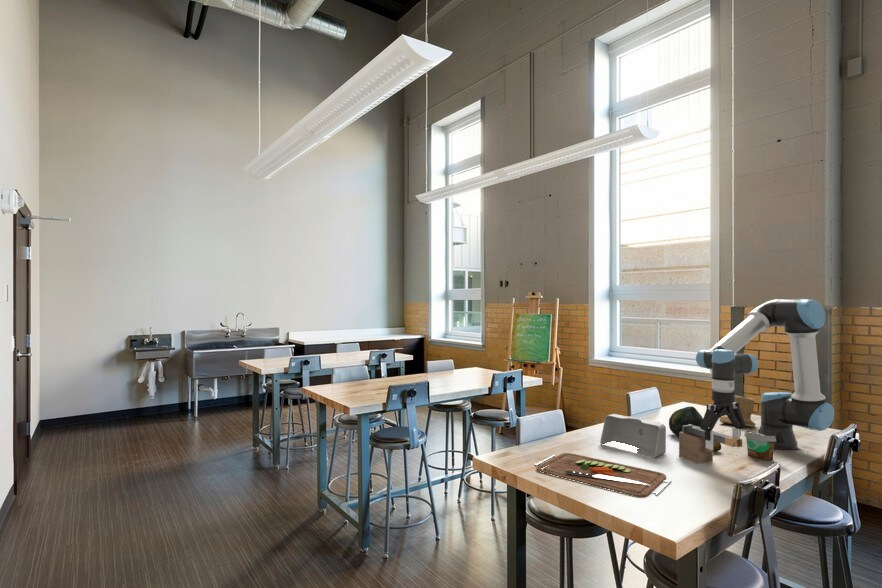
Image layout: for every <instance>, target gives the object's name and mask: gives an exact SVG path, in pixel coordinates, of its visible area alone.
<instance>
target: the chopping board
mask: <svg viewBox="0 0 882 588" xmlns="http://www.w3.org/2000/svg"><path fill="white" fill-rule="evenodd" d="M547 460H548V461H547ZM545 461H546V462H545ZM543 462H544V463H543ZM541 463H542V464H541ZM538 464H540V465H539V466H535V465H538ZM548 465H549V466H548ZM534 466H535V470H536V469H537V470H538V471H541V472H544V473H548V474H552V475H555V476H559V477H563V478H567V479H571V480H575V481H579V482H583V483H587V484H590V485H589V486H591V485H594V486H593V487H595V486H598V487H597V488H599V487H601V488H600V489H603V488H606V489H605V490H607V489H610V490H609V491H611V490H614V491H613V492H615V491H617V492H616V493H619V492H622V493H621V494H623V493H626V494H625V495H627V494H629V495H628V496H631V495H633V496H632V497H635V496H636V498H646V497H648V496H650V494H653V495H654V496H656V497H658V496H659V495H660V494H661V493H662V492H663V491H664V490H665V489H667V488H668V486H670V484H672V480H668V481H667V475H666V474H665V473H663V472H660V471H659V472H658V471H655V470H651V469H646V468H642V467H636V466H631V465H628V464H627V465H626V464H624V463H619V462H618V463H617V462H613V461H608V460H604V459H600V458H595V457H590V456H587V455H586V456H585V455H581V454H576V453H571V452H563V453H560V454H559V455H557V456H556V454H552V455H550V456H549V457H547V458H545V459H543V460H541V461H539V462H538V463H535V464H534ZM545 466H547V467H545ZM543 467H545V468H544V469H543V470H542V469H541V468H543ZM538 471H537V472H538ZM555 476H554V477H555ZM559 477H558V478H559ZM563 478H562V479H563ZM567 479H566V480H567ZM571 480H570V481H571ZM575 481H574V482H575ZM579 482H578V483H579ZM583 483H582V484H583ZM662 483H665V484H664V486H663V487H661V489H659V490H658V491H657V492H654V491H655V489H657V488H658V487H659V486H660V485H661V484H662ZM587 484H586V485H587Z"/></svg>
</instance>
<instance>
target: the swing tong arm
mask: <svg viewBox="0 0 882 588" xmlns="http://www.w3.org/2000/svg"><path fill="white" fill-rule="evenodd" d="M686 432H687V433H690V434H693V435H697V436H700V437H703V438H705V431H704V430H702V429H700V428H696V427H693V425H691V424H688V426H686ZM731 437H732V436H731ZM731 437H727V436H723V435H720V434H717V433H713V441H716V442H719V443H720V444H721V445H725V446H729V447H731V448H736V446H737V439H734V438H731Z"/></svg>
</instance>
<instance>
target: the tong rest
mask: <svg viewBox="0 0 882 588" xmlns="http://www.w3.org/2000/svg"><path fill="white" fill-rule="evenodd" d="M686 426H688V425H684V426H682V432H679V436H678V457H679V458H682V459H684V460H686V461H690V462H691V463H695V464H704V463H705V464H706V463H713V462H714V452H713V450H710V449H707V448H706V440H705V438H703V437H700V436H697V435H693V434H690V433H687V432H686ZM693 427H696V428H700V427H698V426H694V425H693ZM711 432H713V433H717V434H720V435H723V436H727V437H731V438H734V439H737V446H736V447H737V448H741V447H743V439H742V438H740V439H739V438H736V437H732V435H727V434H724V433H721V432H717V431H715V430H714V431H713V430H712V431H711ZM736 447H735V448H736Z"/></svg>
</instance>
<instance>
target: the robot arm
mask: <svg viewBox="0 0 882 588" xmlns="http://www.w3.org/2000/svg"><path fill="white" fill-rule="evenodd" d="M825 321H826V312H825V309H824V307H823V305H822V304H821V303H820V302H818V300H815V299H810V298H809V299H806V298H776V299H771V300H768V301H766V302H763V303H762V304H760V305H758V306H757V307H755V308H753V309H752V310H751V311H750V312H749V313H747V314H746V318H745V319H744V320H743V321H741V322H740V323H739V324H738V325H736V327H735V328H733V329H732V330H730V332H728V333H727V334H726V335H725V336H724V337H723V338H721V339H720V340H718V342H716V343H715V344H714V345H713V346H712V347H711V348H709V349H700V350H699V351H698V352H697V353H696V355H695V362H696V364H697V365H698V366H699V367H700V368H704V369H707V370H711V389H712V390H711V400H712V401H713V404H709V403H707V404H706V410H705V413H704V416H703V421H702V424H701V426H700V429H702V430H704V431H705V440H706V448H707V449H710V450H713V432H711V431H713V429H714V428H715V426H716V424H717V423H718V421H719V420H720V418H721V417H722V416H728V418H729V419H730V421H731V423H732V424H733V425H732V424H731V425H732V426H733V427H732V431H731V433H732V435H731V437H736V438H739V439H741V437H742V434H741V433H742V430H744V428H745V427H746V426H745V422H744V419H743V417H742V414H741V411H740V408H739V403H736V402H734V401H735V395H736V394H735V392H734V391H735V378H736V377H735V375H741V374H743V375H744V374H746V375H749V374H752V373H754V372H756V371H757V370H758V369H759V359H758V358H757V357H756V356H755V355H754V354H751V353H738V352H739V351H741V349H742V348H743V347H745V346H746V345H747V344H748V343H749V342H750V341H752V340H753V339H755V337H756V336H757V335H759V334H760V333H761V332H764V331H767V330H769V329H770V328H773V327H784V333H785V334H786V335H787V336H789V343H790V353H791V354H790V355H791V364H792V373H793V383H794V385H793V387H794V392H793V393H792V392H786V391H785V392H784V391H773V392H772V391H771V392H764V393H762V394H761V397H760V402H759V403H760V427H759V429H758V432H757V433H761V434H764V435H766V436H775V438H776V441H775V444H774V450H775V449H776V450H786V451H789V450H790V451H791V450H796V449H798V441H797V439H796V435H795V432H794V429H793V426H796V427H799V428H800V427H801V428H805V429H809V430H812V431H813V430H814V431H821V432H823V431H826V430H827V429H828V428H830V427H831V425H832V423H833V421H834V419H835V408H834V407H833V405H832V404H831V403H828V402H827V399H826V398H827V397H826V396H825V395H824V394H823V393H822V392H821V384H820V374H819V362H818V353H817V352H818V351H817V350H818V349H817V342H816V340H817V339H816V335H817V334H819V333H820V328H822V327H823V326H824V325H825ZM740 422H741V423H740ZM704 426H705V427H704Z"/></svg>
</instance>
